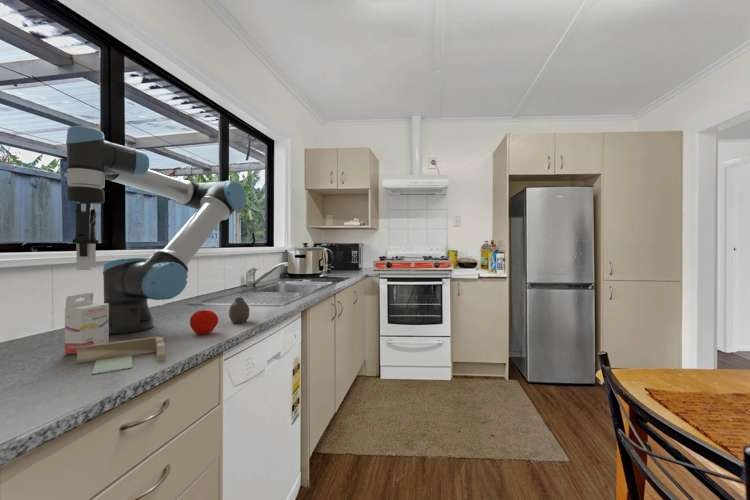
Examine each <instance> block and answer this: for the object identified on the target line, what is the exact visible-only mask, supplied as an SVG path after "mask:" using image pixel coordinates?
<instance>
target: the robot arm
mask: <svg viewBox="0 0 750 500" xmlns="http://www.w3.org/2000/svg"><path fill="white" fill-rule="evenodd" d="M66 131H67V133H66V143H65V144H66V169H67V170H66V171H67V172H65V173H64V174H63V176H64V177H65V178H67V180H66V181H67V182H66V184H67V185H69V186H68V187H67V189H66V190H67V191H66V200H67V201H68V202H70V203H74V204H76V209H75V216H76V217H75V220H76V221H75V222H76V224H75V225H76V226H75V237H74V238H72V244H76V245H75V246H76V247H75V248H76V250H75V251H76V271H91V270H92V268H96V267H97V266H96V261H97V260H96V259H97V258H96V257H97V255H96V248H97V247H96V244H99V239H97V238H96V225H97V223H96V222H97V210H96V209H95V208H94V206H93V205H101V204H104V203H105V190H104V188H105V183H106V182H105V181H106V180H107V181H110V182H114V183H118V184H121V185H124V186H128V187H130V188H135V189H138V190H141V191H145V192H148V193H151V194H154V195H158V196H161V197H165V198H167V199H171V200H174V201H175V202H176V203H177V204H179V205H182V206H186V207H189V208H191V209H194V210H196V211H195V213H194V214H193V215H192V216H191V217H190V218H189V220H188V221H186V223H185V224H184V225H183V227H182V228H181V229H179V231H178V232H177V233H176V234H175V236H174V237H173V238H172V239H171V240H170V242H169V243H168V244H167V245H166V246H165V247H164V248H163V249H161V250H156V251H154V252H153V253H152V254H151V256H150V257H149V258H148V259H147V258H146V257H126V258H116V259H110V260H107V261H105V262H104V263H103V269H102V276H103V303H109V335H121V334H128V333H130V334H131V333H136V332H141V331H145V330H149V329H151V328H153V327H154V326H155V323H154V321H155V320H154V317H153V315H152V312H151V310H150V307H149V304H148V300H152V301H153V300H154V301H163V300H165V301H166V300H171V299H174V298H175V297H178V296H179V295H181V293H182V292H183V291H184V290H185V288H186V286H187V284H188V280H187V279H188V277H189V276H188V272H189V267H188V264H189V263H190V262H191V261H192V259H193V258H194V257H195V255H196V254H197V252H199V250H200V249H201V247H202V246H203V245H204V244H205V242H206V241H207V240H208V238H210V236H211V235H212V233H213V232H214V231H215V229H216V228H217V227H218V225H219V224H220V223H221V221H226V220H228V219H229V218H230V217H231V216H232V214H233V213H234V212H235V211H236V212H239V211H242V210H243V209H244V208H245V206H246V205H247V197H246V196H247V194H246V191H245V189H244V187H243V186H242V184H240V183H239V182H238V181H236V180H229V179H227V180H223V181H210V182H209V181H207V182H195V181H190V180H187V179H183V180H180V179H177V178H174V177H171V176H169V175H165V174H163V173H160V172H157V171H155V170H151V169H150V158H149V156H148V154H147V153H146V152H144V151H142V150H140V149H136V148H135V147H130V146H129V147H128V146H126V145H122V144H118V143H113V142H111V141H108V140H106V139H105V134H104V132H103V131H102V130H100V129H98V128H95V127H91V126H86V125H85V126H84V125H74V126H70V127H68V128H67V130H66Z"/></svg>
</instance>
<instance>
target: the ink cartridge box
mask: <svg viewBox="0 0 750 500" xmlns="http://www.w3.org/2000/svg"><path fill="white" fill-rule="evenodd" d="M94 296H95V295H94V292H89V293H88V292H87V293H80V294H73V295H68V296H66V298H65V308H64V354H65V355H77V347H79V346H87V345H95V344H103V343H110V341H109V338H110V337H109V335H110V334H109V303H104V302H103V303H96V302H95V303H94ZM79 299H84V300H79Z"/></svg>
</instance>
